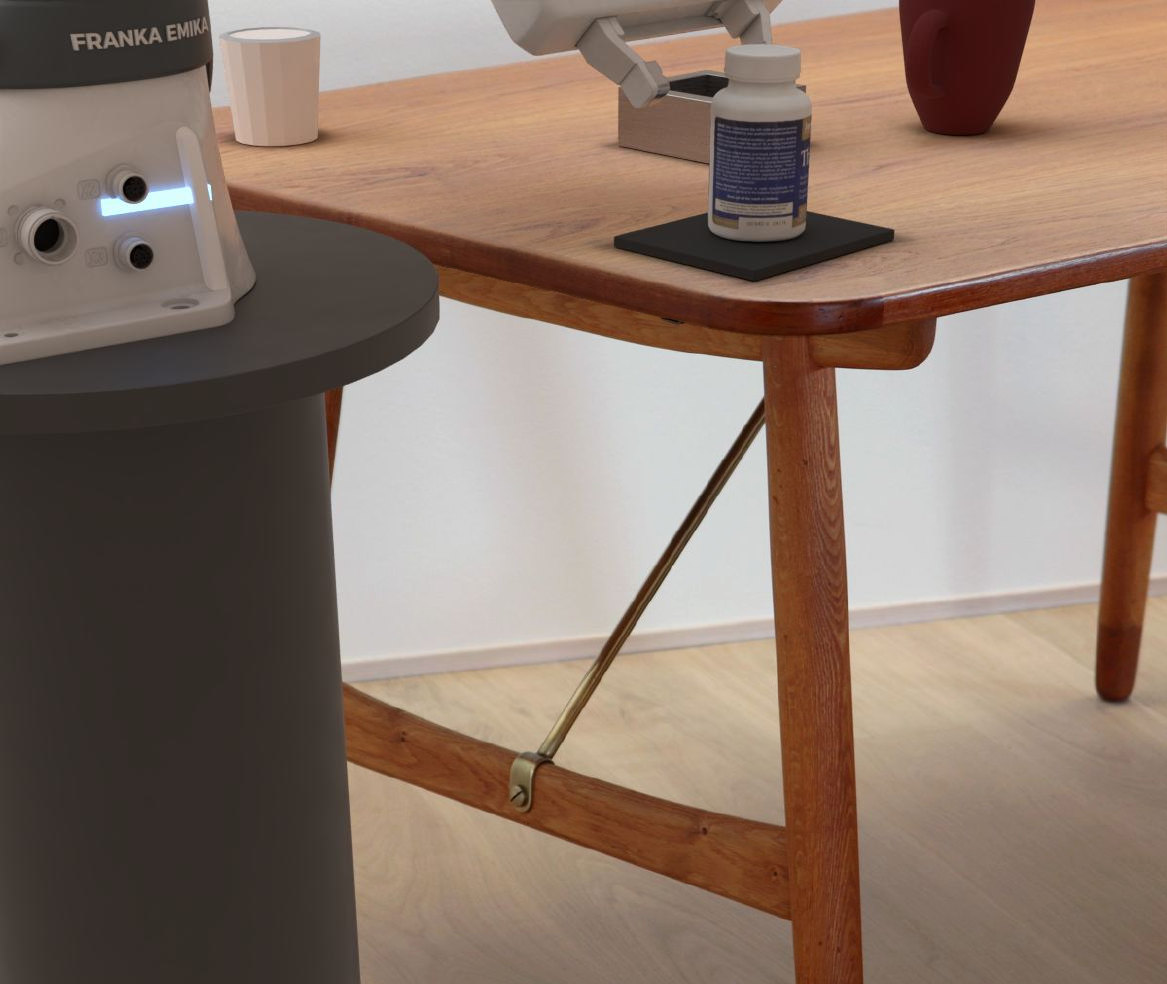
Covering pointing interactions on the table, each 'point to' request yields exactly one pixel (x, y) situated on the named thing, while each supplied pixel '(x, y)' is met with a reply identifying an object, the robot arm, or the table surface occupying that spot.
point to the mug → (962, 59)
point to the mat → (753, 245)
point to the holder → (674, 117)
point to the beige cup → (272, 84)
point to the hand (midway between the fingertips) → (714, 89)
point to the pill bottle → (759, 146)
